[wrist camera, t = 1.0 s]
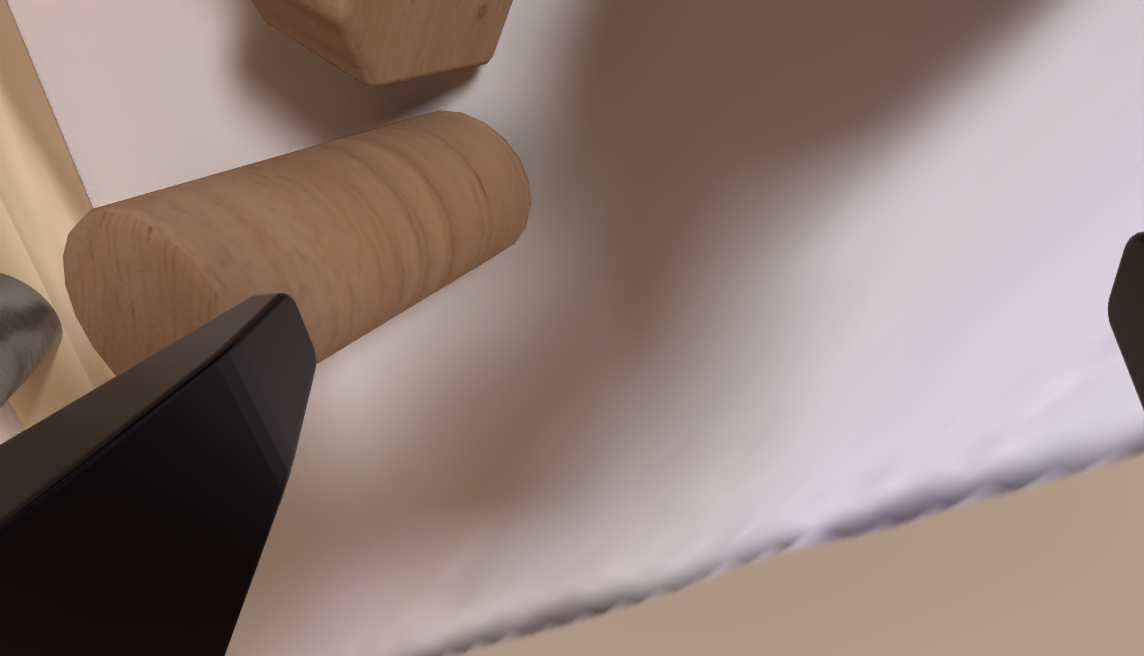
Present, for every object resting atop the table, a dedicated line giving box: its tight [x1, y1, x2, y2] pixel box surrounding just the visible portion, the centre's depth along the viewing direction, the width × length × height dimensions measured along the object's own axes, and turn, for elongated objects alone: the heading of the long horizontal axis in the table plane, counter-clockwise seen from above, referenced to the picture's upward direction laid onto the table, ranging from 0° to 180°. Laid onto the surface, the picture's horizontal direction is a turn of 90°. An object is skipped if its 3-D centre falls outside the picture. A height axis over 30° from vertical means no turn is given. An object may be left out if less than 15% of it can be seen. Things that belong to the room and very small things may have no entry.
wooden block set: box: [63, 0, 531, 376], centre depth 17 cm, size 18×9×10 cm, turn 158°
